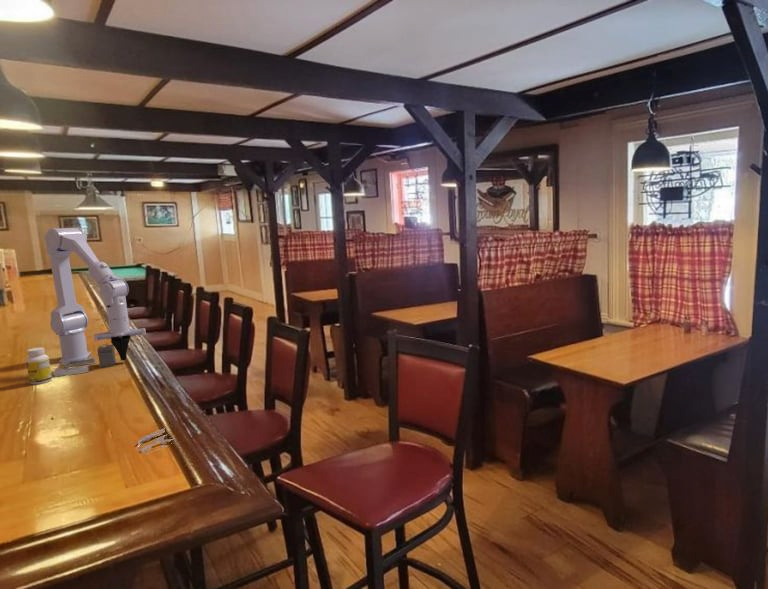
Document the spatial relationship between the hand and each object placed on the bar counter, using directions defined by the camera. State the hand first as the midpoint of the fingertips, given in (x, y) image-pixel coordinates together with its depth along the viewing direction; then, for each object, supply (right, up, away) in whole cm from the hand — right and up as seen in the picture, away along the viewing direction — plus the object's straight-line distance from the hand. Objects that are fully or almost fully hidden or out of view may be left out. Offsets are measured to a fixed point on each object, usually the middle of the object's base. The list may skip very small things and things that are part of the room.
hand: (123, 359), depth 164 cm
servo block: (-4, -2, -1) cm, 5 cm away
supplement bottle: (-16, -5, -16) cm, 23 cm away
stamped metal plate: (+39, -9, -63) cm, 74 cm away
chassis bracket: (-13, -2, -5) cm, 14 cm away
